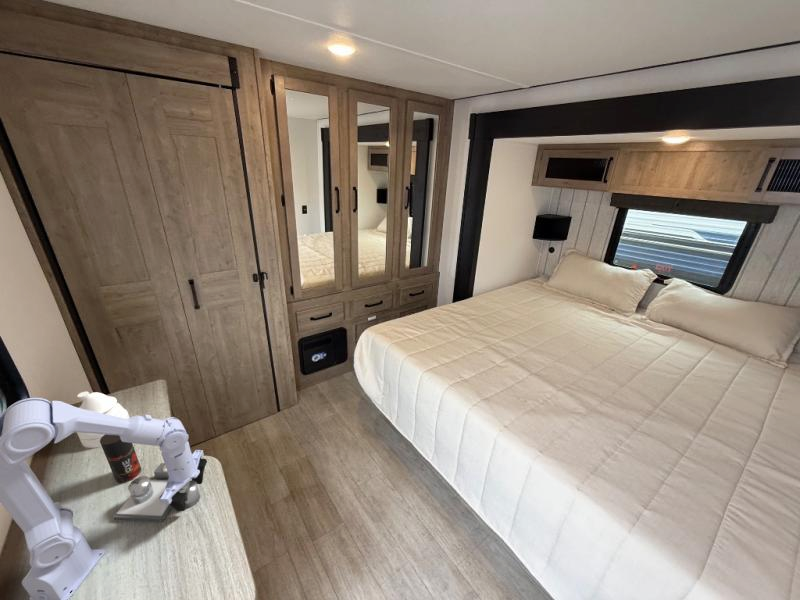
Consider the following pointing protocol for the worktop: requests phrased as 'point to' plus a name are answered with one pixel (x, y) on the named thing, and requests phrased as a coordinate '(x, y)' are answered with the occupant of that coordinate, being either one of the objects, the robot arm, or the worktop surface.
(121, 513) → the scale
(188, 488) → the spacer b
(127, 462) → the deodorant
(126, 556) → the worktop surface
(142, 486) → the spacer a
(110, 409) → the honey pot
